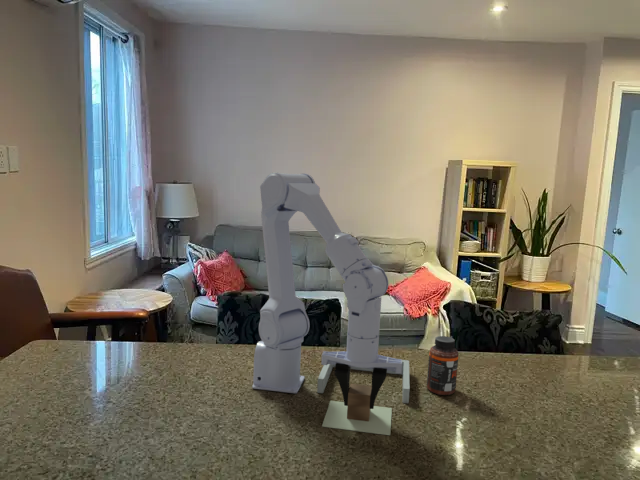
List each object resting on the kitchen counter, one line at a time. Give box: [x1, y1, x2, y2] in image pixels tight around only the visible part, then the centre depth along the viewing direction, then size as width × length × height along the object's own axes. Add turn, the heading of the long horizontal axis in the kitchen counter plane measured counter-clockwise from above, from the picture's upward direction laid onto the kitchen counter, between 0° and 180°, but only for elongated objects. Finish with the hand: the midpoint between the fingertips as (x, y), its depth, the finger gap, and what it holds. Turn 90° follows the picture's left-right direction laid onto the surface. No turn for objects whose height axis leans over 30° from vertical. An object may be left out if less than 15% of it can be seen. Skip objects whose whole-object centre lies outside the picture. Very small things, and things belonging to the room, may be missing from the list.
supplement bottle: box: [426, 335, 459, 396], centre depth 102 cm, size 6×6×11 cm
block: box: [347, 383, 372, 422], centre depth 90 cm, size 4×4×5 cm
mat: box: [321, 400, 393, 436], centre depth 90 cm, size 12×10×1 cm
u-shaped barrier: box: [316, 359, 411, 404], centre depth 105 cm, size 18×15×3 cm
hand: (359, 404), depth 90 cm, fingers closed on block, 4 cm apart
